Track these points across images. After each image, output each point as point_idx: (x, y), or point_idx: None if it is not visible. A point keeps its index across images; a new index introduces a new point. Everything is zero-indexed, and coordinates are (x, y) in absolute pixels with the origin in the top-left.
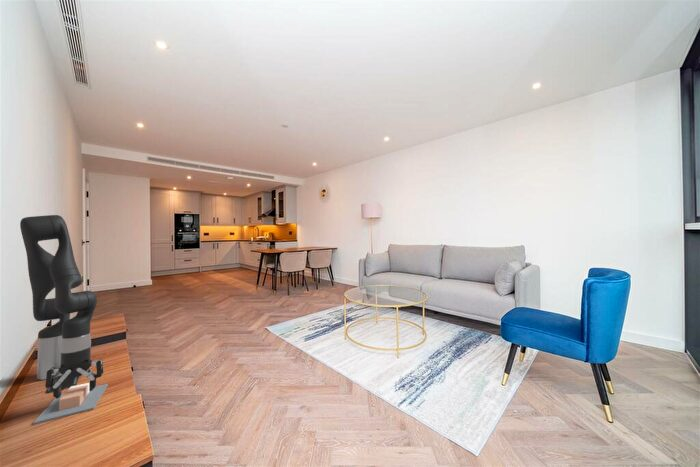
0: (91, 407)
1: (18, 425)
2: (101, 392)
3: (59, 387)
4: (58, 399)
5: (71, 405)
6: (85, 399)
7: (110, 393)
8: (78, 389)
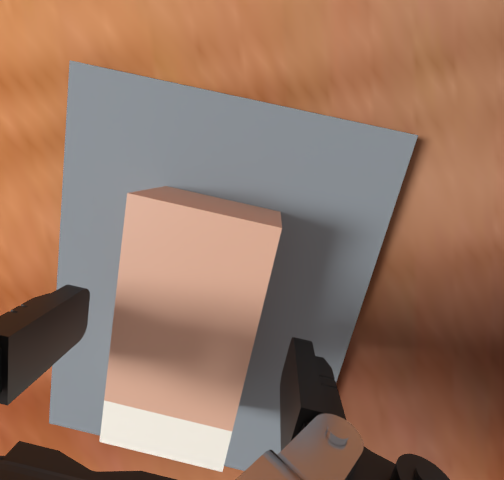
0: (85, 77)
1: (484, 207)
2: None
3: (293, 423)
4: None
5: (208, 197)
6: None
7: (19, 268)
8: (159, 358)
